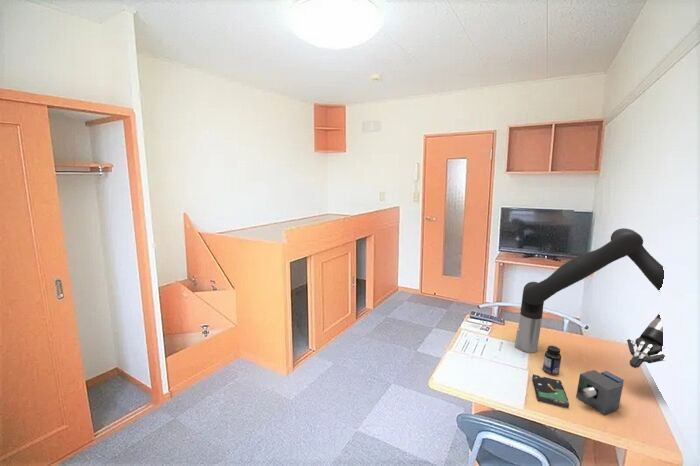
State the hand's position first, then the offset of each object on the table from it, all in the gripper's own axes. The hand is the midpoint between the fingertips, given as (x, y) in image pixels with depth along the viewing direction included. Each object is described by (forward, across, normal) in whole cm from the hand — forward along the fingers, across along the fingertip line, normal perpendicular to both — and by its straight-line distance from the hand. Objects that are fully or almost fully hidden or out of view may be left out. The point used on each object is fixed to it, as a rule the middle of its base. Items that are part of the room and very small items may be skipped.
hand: (632, 366), depth 127 cm
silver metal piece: (+20, 0, -5) cm, 21 cm away
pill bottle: (+20, -20, -3) cm, 29 cm away
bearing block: (+21, 0, -5) cm, 22 cm away
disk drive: (+30, -10, -12) cm, 34 cm away
